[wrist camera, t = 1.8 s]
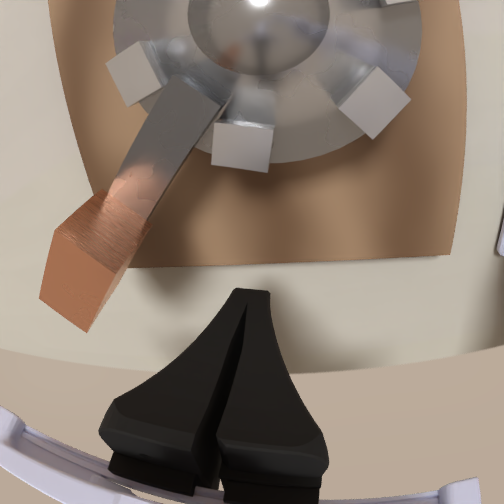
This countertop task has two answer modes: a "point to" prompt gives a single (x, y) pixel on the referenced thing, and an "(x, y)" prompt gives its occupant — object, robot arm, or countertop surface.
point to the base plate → (285, 174)
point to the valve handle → (229, 109)
